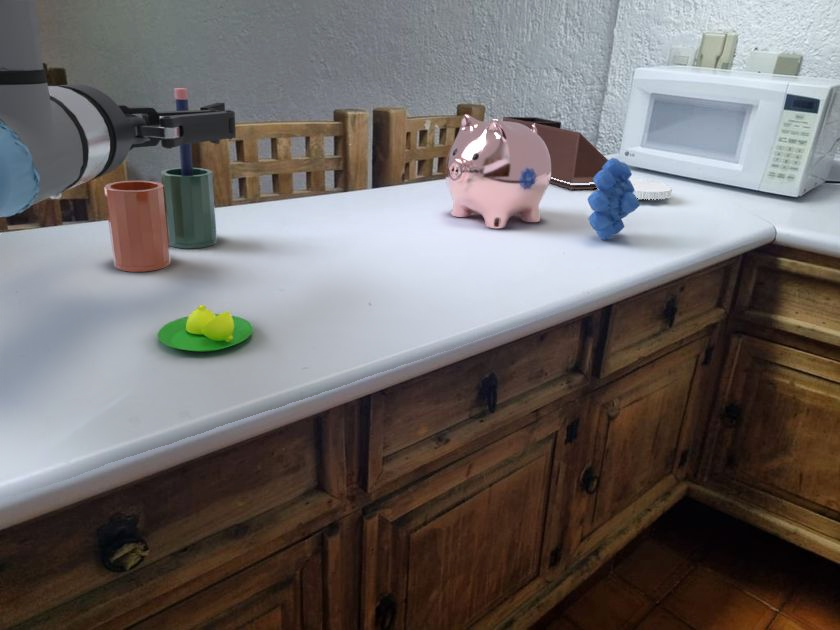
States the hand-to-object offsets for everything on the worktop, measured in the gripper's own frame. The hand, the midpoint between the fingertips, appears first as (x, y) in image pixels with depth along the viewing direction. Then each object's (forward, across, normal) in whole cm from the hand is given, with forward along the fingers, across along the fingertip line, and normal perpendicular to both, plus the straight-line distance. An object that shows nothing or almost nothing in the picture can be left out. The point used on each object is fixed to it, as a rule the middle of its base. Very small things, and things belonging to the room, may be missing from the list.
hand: (158, 112), depth 72 cm
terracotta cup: (-2, -3, -17) cm, 17 cm away
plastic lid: (+52, +72, -17) cm, 91 cm away
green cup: (+8, 0, -17) cm, 18 cm away
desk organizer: (+71, +60, -17) cm, 95 cm away
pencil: (+7, 0, -16) cm, 18 cm away
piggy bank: (+28, +42, -17) cm, 53 cm away
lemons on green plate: (-22, +10, -17) cm, 29 cm away
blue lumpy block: (+18, +58, -17) cm, 63 cm away
